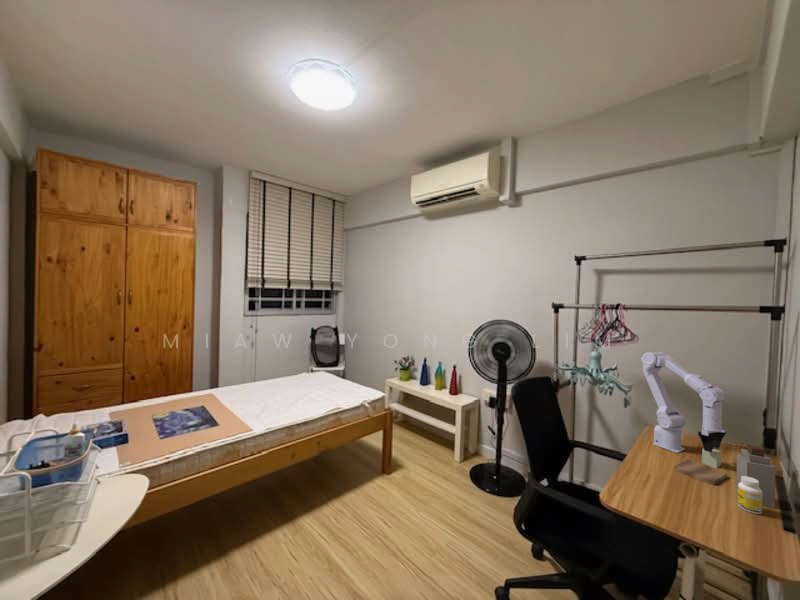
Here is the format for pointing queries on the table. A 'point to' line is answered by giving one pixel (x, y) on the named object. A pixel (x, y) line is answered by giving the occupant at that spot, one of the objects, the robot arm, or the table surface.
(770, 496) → the grey tall open box
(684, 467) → the walnut base
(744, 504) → the supplement bottle
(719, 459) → the sage block
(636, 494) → the table surface
